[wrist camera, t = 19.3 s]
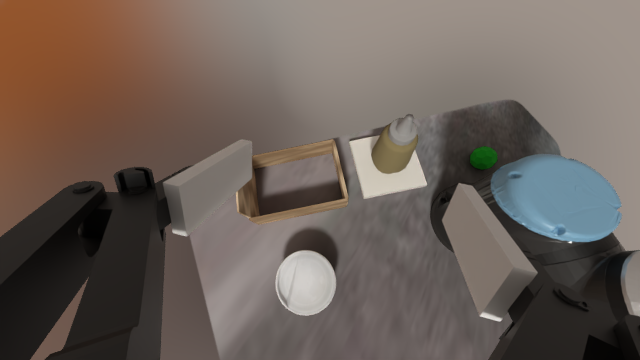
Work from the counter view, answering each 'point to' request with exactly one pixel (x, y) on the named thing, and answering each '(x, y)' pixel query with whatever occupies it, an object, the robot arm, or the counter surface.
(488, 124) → the counter surface
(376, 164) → the squeeze bottle
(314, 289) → the ramekin
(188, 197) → the robot arm
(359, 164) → the cutting board
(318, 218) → the counter surface
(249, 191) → the wooden box
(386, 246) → the counter surface
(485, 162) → the polyhedron
